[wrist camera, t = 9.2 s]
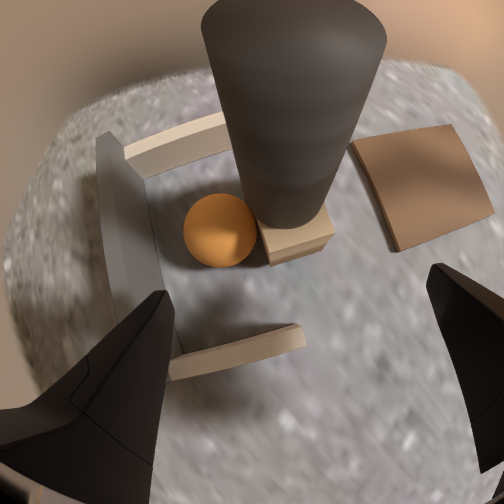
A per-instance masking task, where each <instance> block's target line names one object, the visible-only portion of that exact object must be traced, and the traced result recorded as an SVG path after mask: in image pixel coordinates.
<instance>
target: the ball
mask: <svg viewBox="0 0 504 504" xmlns="http://www.w3.org/2000/svg"><path fill="white" fill-rule="evenodd" d="M183 235H184V240H185V243H186V246H187V248H188V250H189V251H190V253H191V254H192V255H193V256H194V257H195V258H196V259H197V260H198V261H200V262H201V263H203V264H205V265H208V266H211V267H216V268H224V267H229V266H233V265H235V264H237V263H239V262H241V261H242V260H243V259H245V258H246V257H247V256H248V255H249V253H250V252H251V251H252V249H253V247H254V245H255V242H256V239H257V222H256V219H255V216H254V215H253V214H252V213H251V211H250V210H249V208H248V206H247V204H246V203H245V202H244V201H242V200H241V199H239V198H237V197H235V196H233V195H229V194H224V193H218V194H212V195H208V196H206V197H204V198H202V199H200V200H199V201H197V202H196V203H195V204H194V205H193V206H192V207H191V209H190V210H189V212H188V213H187V215H186V218H185V221H184V226H183Z"/></svg>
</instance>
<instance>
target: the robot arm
mask: <svg viewBox="0 0 504 504" xmlns="http://www.w3.org/2000/svg"><path fill="white" fill-rule="evenodd" d="M426 288H427V292H428V295H429V298H430V301H431V304H432V307H433V310H434V313H435V316H436V320H437V323H438V326H439V328H440V331H441V333H442V336H443V338H444V341H445V344H446V346H447V349H448V352H449V354H450V357H451V360H452V363H453V366H454V369H455V371H456V374H457V378H458V381H459V384H460V387H461V390H462V394H463V397H464V400H465V404H466V408H467V411H468V415H469V419H470V423H471V428H472V432H473V437H474V441H475V446H476V451H477V457H478V462H479V469H480V473H481V474H482V473H484V472H486V471H488V470H489V469H491V468H493V467H495V466H496V465H498V464H499V463H501V462H503V461H504V299H503V298H502V297H500V296H499V295H497V294H495V293H494V292H492V291H490V290H489V289H487V288H486V287H484V286H482V285H480V284H479V283H477V282H475V281H474V280H472V279H470V278H469V277H467V276H465V275H463V274H462V273H460V272H458V271H456V270H454V269H453V268H451V267H449V266H447V265H445V264H444V263H437V264H433V265H432V266H431V268H430V272H429V275H428V279H427V282H426ZM174 316H175V311H174V307H173V304H172V301H171V299H170V296H169V293H168V292H167V291H166V290H155V291H153V292H152V293H151V294H150V295H149V296H148V297H147V298H146V299H145V300H144V301H142V302H141V303H140V304H139V305H138V306H137V307H136V308H135V309H134V310H133V311H132V312H131V313H129V314H128V315H127V316H126V317H125V318H124V319H123V320H122V321H121V322H120V323H119V324H118V325H117V326H116V327H115V328H113V329H112V330H111V331H110V332H109V333H108V334H107V335H106V336H105V337H104V338H103V339H102V340H101V341H100V342H99V343H98V344H97V345H96V346H95V347H94V348H92V349H91V350H90V351H89V352H88V354H87V355H85V356H84V357H83V358H82V359H81V360H80V361H79V362H78V363H77V364H76V365H75V366H74V367H73V368H72V369H71V370H70V371H68V372H67V373H66V374H65V375H64V376H63V377H62V378H60V379H59V380H58V381H57V382H56V383H54V384H53V385H52V386H51V387H50V388H49V389H47V390H46V391H45V392H44V393H43V394H41V395H40V396H39V397H38V398H37V399H36V400H34V401H33V402H32V403H30V404H28V405H26V406H23V407H20V408H13V409H3V410H0V504H149V497H150V487H151V479H152V470H153V467H152V466H153V461H154V454H155V447H156V440H157V433H158V426H159V420H160V414H161V408H162V402H163V396H164V390H165V385H166V379H167V374H168V369H169V363H170V358H171V351H172V339H173V327H174ZM485 504H504V471H503V474H502V476H501V479H500V481H499V484H498V486H497V488H496V490H495V493H494V495H493V497H492V500H490V501H489V502H487V503H485Z"/></svg>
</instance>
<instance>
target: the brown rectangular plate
mask: <svg viewBox="0 0 504 504" xmlns="http://www.w3.org/2000/svg"><path fill="white" fill-rule="evenodd" d="M351 145H352V147H353V149H354V151H355V153H356V155H357V157H358V159H359V161H360V163H361V165H362V167H363V169H364V172H365V174H366V176H367V178H368V180H369V182H370V185H371V187H372V189H373V191H374V194H375V196H376V198H377V201H378V203H379V206H380V208H381V210H382V213H383V215H384V218H385V220H386V223H387V225H388V228H389V231H390V233H391V236H392V239H393V241H394V244H395V247H396V250H397V253H398V252H400V251H403V250H406V249H408V248H411V247H414V246H416V245H419V244H422V243H424V242H427V241H429V240H432V239H434V238H437V237H439V236H442V235H444V234H447V233H449V232H452V231H454V230H457V229H459V228H462V227H464V226H466V225H469V224H471V223H474V222H476V221H478V220H481V219H483V218H485V217H488V216H490V215H492V214H494V213H495V212H494V209H493V207H492V204H491V202H490V199H489V197H488V195H487V192H486V190H485V188H484V185H483V183H482V181H481V179H480V177H479V175H478V172H477V170H476V168H475V166H474V164H473V162H472V160H471V158H470V156H469V154H468V153H467V151H466V149H465V147H464V145H463V143H462V142H461V140H460V138H459V136H458V135H457V133H456V131H455V129H454V128H453V126H452V124H451V125H442V126H435V127H427V128H420V129H414V130H407V131H401V132H395V133H390V134H384V135H379V136H373V137H368V138H363V139H358V140H353V141H352V144H351Z"/></svg>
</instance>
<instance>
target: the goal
mask: <svg viewBox="0 0 504 504" xmlns="http://www.w3.org/2000/svg"><path fill="white" fill-rule="evenodd" d="M230 149H232V145H231V141H230V137H229V133H228V130H227V126H226V122H225V118H224V114H223V111H222V112H219V113H215V114H212V115H209V116H206V117H203V118H200V119H197V120H194V121H191V122H188V123H185V124H182V125H179V126H176V127H174V128H171V129H168V130H165V131H163V132H160V133H158V134H155V135H153V136H150V137H148V138H145V139H143V140H140V141H138V142H135V143H133V144H131V145H128V146H126V147H123V146H122V145H121V144H120V142H119V141H118V140H117V139H116V138H115V137H114V135H113V134H112V133H111V132H110V131H109V132H107V133H105V134H103V135H101V136H99V137H97V138H96V174H97V191H98V204H99V214H100V224H101V232H102V240H103V248H104V254H105V261H106V267H107V273H108V279H109V284H110V289H111V294H112V299H113V304H114V308H115V313H116V317H117V322H118V324H119V323H120V322H121V321H122V320H123V319H124V318H125V317H126V316H127V315H128V314H129V313H131V312H132V311H133V310H134V309H135V308H136V307H137V306H138V305H139V304H140V303H141V302H142V301H144V300H145V299H146V298H147V297H148V296H149V295H150V294H151V293H152V292H153V291H155V290H165V287H164V282H163V278H162V274H161V269H160V265H159V260H158V256H157V251H156V246H155V241H154V236H153V231H152V226H151V221H150V215H149V210H148V204H147V198H146V192H145V185H144V179H146V178H149V177H151V176H154V175H156V174H159V173H162V172H164V171H167V170H170V169H173V168H175V167H178V166H181V165H184V164H187V163H189V162H192V161H195V160H198V159H201V158H204V157H207V156H210V155H214V154H217V153H220V152H223V151H226V150H230ZM305 346H307V344H306V341H305V338H304V334H303V331H302V328H301V326H300V325H298V324H293V325H290V326H287V327H283V328H280V329H277V330H274V331H270V332H267V333H263V334H260V335H257V336H253V337H250V338H246V339H242V340H239V341H235V342H231V343H228V344H224V345H220V346H216V347H212V348H208V349H204V350H200V351H196V352H192V353H188V354H183V353H182V350H181V346H180V343H179V339H178V336H177V332H176V329H175V325H174V327H173V339H172V351H171V358H170V363H169V369H168V374H167V379H166V384H167V383H169V382H170V381H174V380H179V379H184V378H189V377H193V376H198V375H203V374H207V373H212V372H216V371H220V370H224V369H228V368H232V367H236V366H240V365H244V364H248V363H252V362H255V361H259V360H262V359H266V358H269V357H273V356H276V355H280V354H283V353H286V352H289V351H293V350H296V349H299V348H302V347H305Z"/></svg>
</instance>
